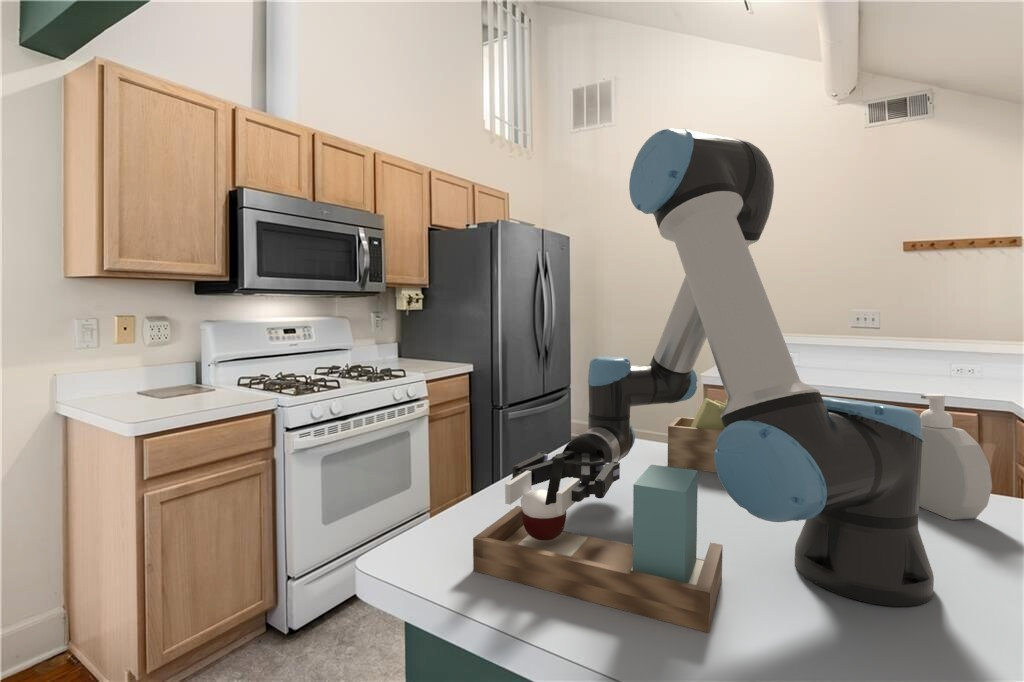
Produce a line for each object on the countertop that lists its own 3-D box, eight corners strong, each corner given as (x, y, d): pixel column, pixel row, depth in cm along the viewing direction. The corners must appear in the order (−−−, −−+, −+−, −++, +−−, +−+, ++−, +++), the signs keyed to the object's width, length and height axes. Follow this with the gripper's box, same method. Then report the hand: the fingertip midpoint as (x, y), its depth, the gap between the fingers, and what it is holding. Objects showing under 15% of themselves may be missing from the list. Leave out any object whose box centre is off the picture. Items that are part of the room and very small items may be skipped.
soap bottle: (879, 492, 100) (883, 388, 99) (904, 490, 101) (908, 387, 100) (963, 526, 85) (969, 403, 83) (991, 524, 85) (997, 402, 84)
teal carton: (696, 561, 69) (697, 470, 68) (684, 594, 61) (685, 492, 60) (648, 551, 72) (649, 464, 71) (631, 581, 64) (632, 484, 63)
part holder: (801, 468, 115) (802, 427, 115) (802, 483, 105) (803, 439, 105) (677, 453, 128) (677, 416, 127) (667, 466, 118) (668, 426, 117)
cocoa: (521, 526, 78) (516, 446, 78) (563, 523, 78) (558, 443, 78) (525, 553, 69) (519, 461, 68) (573, 549, 69) (567, 458, 69)
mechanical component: (755, 502, 113) (798, 419, 110) (677, 466, 115) (718, 384, 113) (746, 490, 120) (786, 412, 118) (674, 456, 123) (711, 379, 120)
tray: (721, 578, 69) (722, 544, 68) (708, 632, 57) (709, 592, 57) (517, 534, 83) (516, 505, 82) (473, 570, 71) (473, 538, 71)
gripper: (649, 485, 85) (605, 542, 64) (538, 468, 94) (469, 513, 73) (650, 439, 84) (606, 481, 64) (538, 426, 93) (468, 460, 73)
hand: (533, 498), depth 69 cm, fingers closed on cocoa, 7 cm apart
